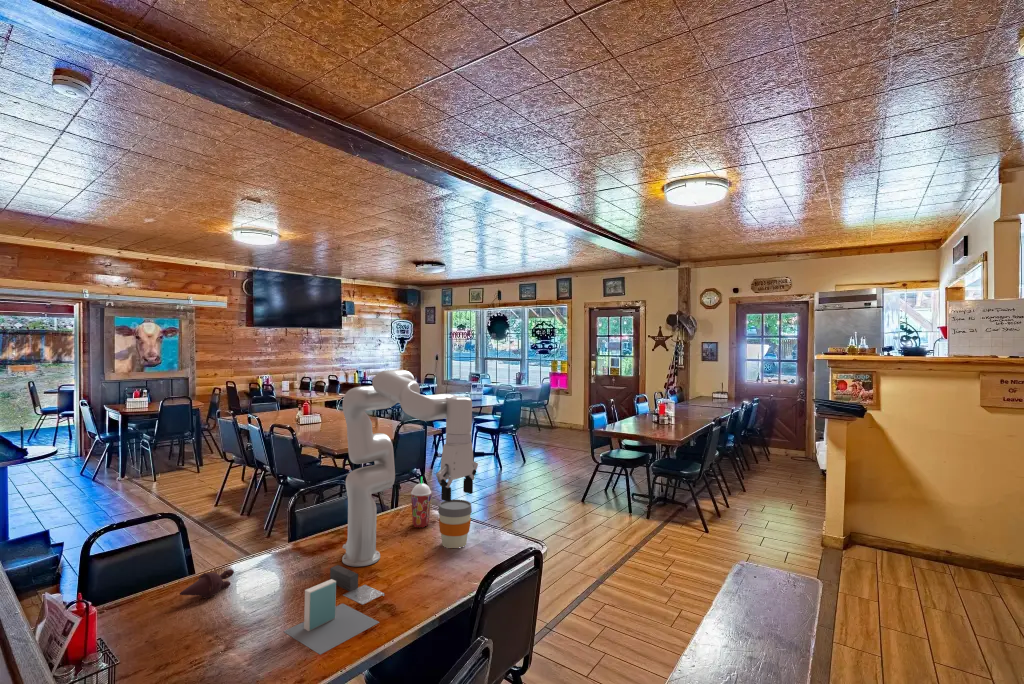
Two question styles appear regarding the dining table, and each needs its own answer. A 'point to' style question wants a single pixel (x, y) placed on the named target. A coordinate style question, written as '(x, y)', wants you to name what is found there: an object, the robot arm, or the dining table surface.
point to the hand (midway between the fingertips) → (457, 496)
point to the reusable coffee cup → (454, 522)
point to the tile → (319, 604)
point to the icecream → (208, 584)
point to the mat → (333, 629)
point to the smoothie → (421, 504)
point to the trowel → (353, 585)
